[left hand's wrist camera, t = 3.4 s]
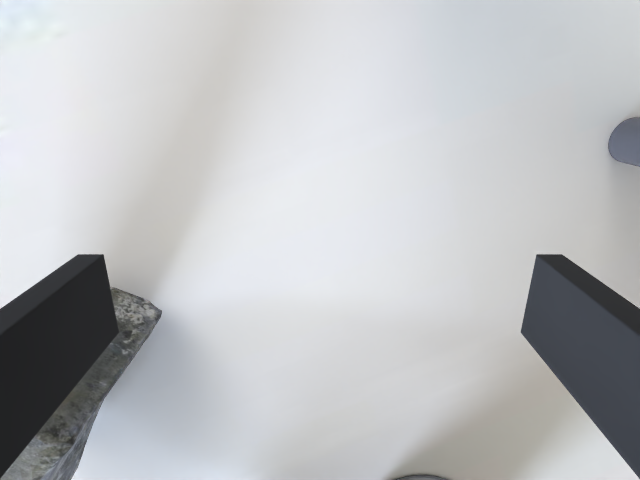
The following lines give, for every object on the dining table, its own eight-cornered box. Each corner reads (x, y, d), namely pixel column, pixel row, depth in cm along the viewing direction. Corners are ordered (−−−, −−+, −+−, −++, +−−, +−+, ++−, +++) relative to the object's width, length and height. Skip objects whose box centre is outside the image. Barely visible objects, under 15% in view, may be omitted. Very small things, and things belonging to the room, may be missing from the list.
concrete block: (106, 256, 42) (-62, 391, 24) (183, 297, 44) (83, 454, 25) (22, 423, 50) (-154, 624, 32) (90, 453, 52) (-39, 659, 33)
